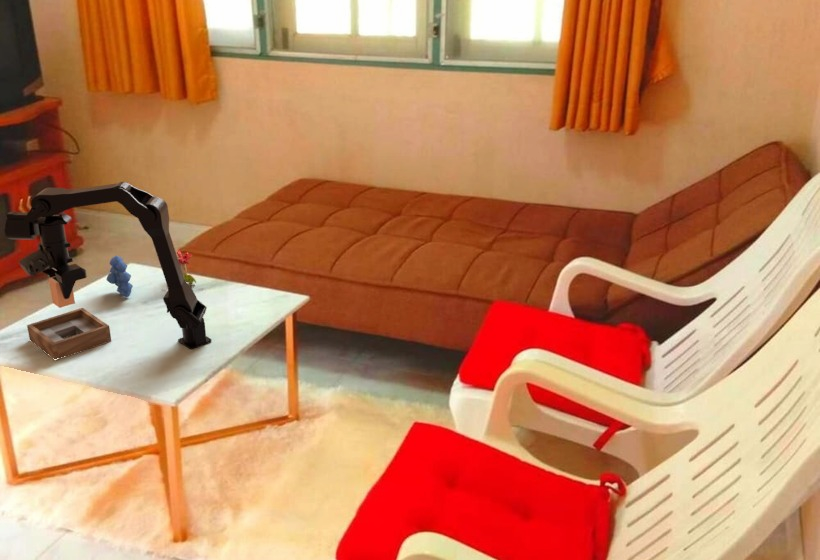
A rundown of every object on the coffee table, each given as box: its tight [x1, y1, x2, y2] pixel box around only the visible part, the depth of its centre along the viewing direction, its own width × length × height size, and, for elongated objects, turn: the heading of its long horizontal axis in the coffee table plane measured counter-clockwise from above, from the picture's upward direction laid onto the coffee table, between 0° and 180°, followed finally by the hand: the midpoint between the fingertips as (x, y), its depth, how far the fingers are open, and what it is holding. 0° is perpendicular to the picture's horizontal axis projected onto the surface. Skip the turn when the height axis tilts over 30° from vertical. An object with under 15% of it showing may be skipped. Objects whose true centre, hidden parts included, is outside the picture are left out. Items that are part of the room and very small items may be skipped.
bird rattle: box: [176, 250, 197, 284], centre depth 237 cm, size 6×11×9 cm
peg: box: [48, 276, 76, 309], centre depth 197 cm, size 4×4×7 cm
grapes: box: [105, 255, 134, 298], centre depth 227 cm, size 12×7×12 cm, turn 39°
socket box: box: [26, 307, 112, 360], centre depth 203 cm, size 15×15×4 cm
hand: (62, 295), depth 198 cm, fingers closed on peg, 4 cm apart
